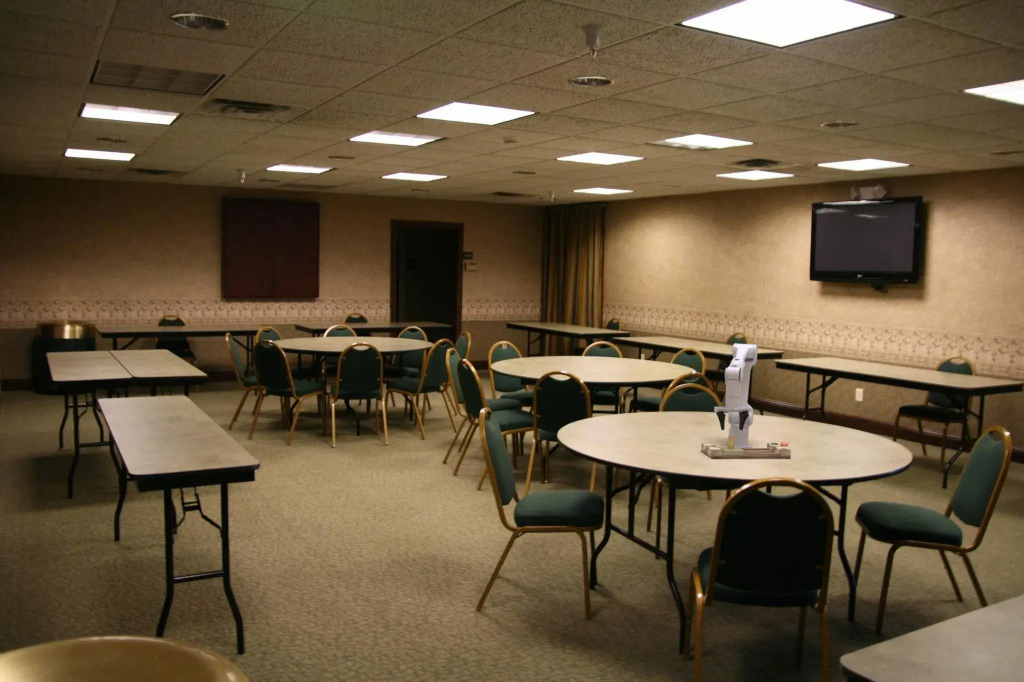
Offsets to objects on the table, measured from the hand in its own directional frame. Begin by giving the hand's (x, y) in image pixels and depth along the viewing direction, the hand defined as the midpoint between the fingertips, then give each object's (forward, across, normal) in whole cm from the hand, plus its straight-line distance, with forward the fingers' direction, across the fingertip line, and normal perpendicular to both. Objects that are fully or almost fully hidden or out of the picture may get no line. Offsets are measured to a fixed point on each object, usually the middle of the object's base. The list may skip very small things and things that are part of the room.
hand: (731, 429), depth 321 cm
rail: (+10, +6, 0) cm, 12 cm away
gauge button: (+5, +20, -5) cm, 21 cm away
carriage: (+9, 0, 0) cm, 9 cm away
